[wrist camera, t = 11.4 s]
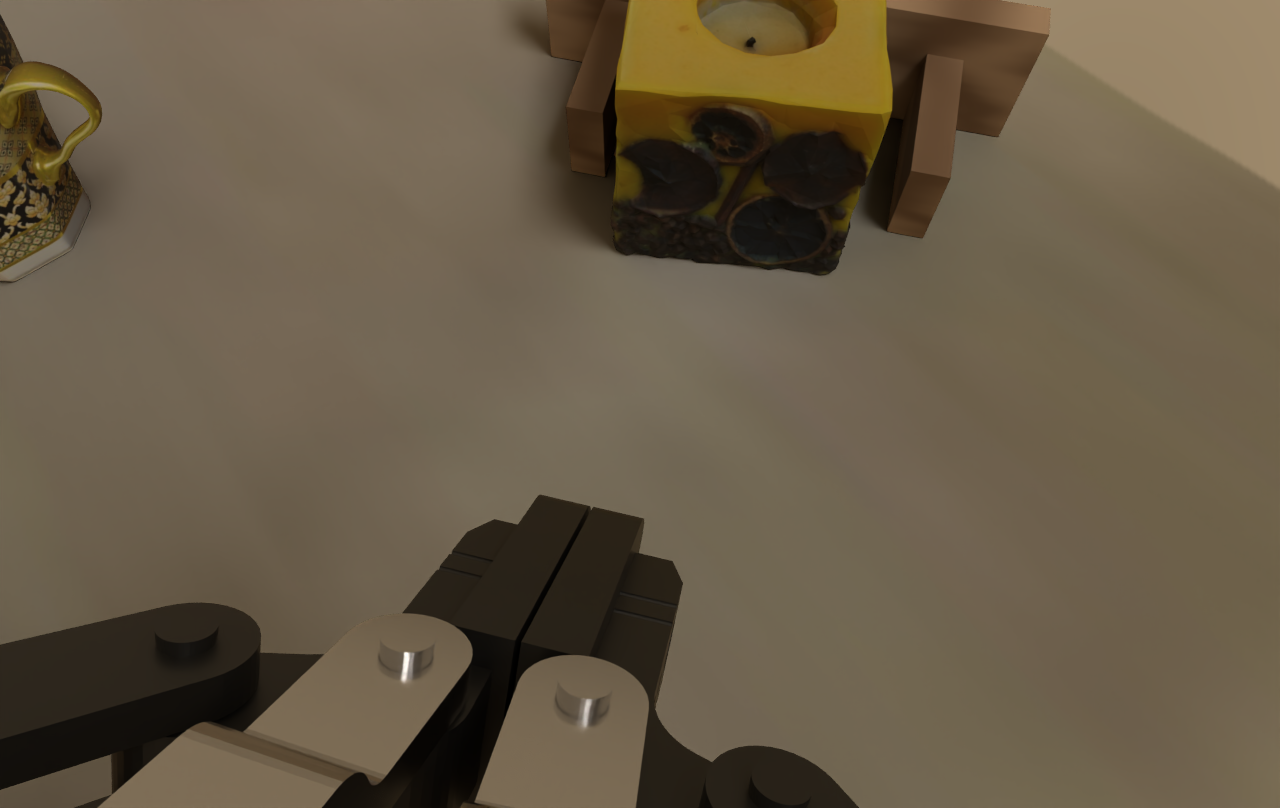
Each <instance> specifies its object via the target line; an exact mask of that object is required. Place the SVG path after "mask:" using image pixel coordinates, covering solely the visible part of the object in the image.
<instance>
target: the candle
mask: <svg viewBox="0 0 1280 808" xmlns="http://www.w3.org/2000/svg"><path fill="white" fill-rule="evenodd" d="M887 41H888V40H887V2H886V0H629V2H628V9H627V15H626V22H625V28H624V36H623V45H622V49H621V53H620V58H619V62H618V66H617V75H616V88H615V110H616V115H617V126H616V137H617V146H616V149H615V153H614V155H615V156H616V181H615V190H614V196H613V206H612V213H611V226H612V228H613V231H614V236H613V237H614V239H613V242H614V245H615V248H616V250H618V251H620V252H622V253H624V254H626V255H628V254H631V253H635V252H637V253H641V254H647V255H652V256H655V257H659V258H663V257H675V258H692V259H693V260H694V261H696V262H703V263H724V264H738V265H751V266H760V267H763V268H766V269H774V268H786V269H791V270H797V271H808V272H811V273H815V274H819V275H821V274H828V273H830V272H832V271H833V270H835V269H836V267H837V265H838V263H839V258H840V256H841V254H842V249H843V248H844V247H845V246H844V244H845V241H846V238H847V235H848V232H849V229H850V219H851V215H852V212H853V210H854V208H855V206H856V204H857V202H858V200H859V195H860V188H861V187H862V186H863V185H865V180H866V178H867V176H868V174H869V172H870V170H871V167H872V165H873V162H874V160H875V157H876V155H877V152H878V150H879V147H880V144H881V141H882V139H883V136H884V133H885V130H886V127H887V124H888V121H889V118H890V115H891V112H892V96H893V88H892V79H891V71H890V64H889V58H888V53H887Z"/></svg>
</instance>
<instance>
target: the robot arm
mask: <svg viewBox="0 0 1280 808" xmlns="http://www.w3.org/2000/svg"><path fill="white" fill-rule="evenodd" d="M643 527H644V519H643V518H639V517H635V516H630V515H626V514H622V513H617V512H613V511H609V510H604V509H600V508H596V507H593V508H592V510H591V508H590V506H587V505H582V504H578V503H574V502H569V501H565V500H561V499H556V498H552V497H548V496H544V495H539V496H538V497H537V498H536V500H535V501H534V502H533V504H532V505H531V507H530V508H529V510H528V511H527V513H526V514H525V515H524V517H523V518H522V520H521V521H520V523H519V524H518V525H516V524H512V523H508V522H504V521H500V520H495V519H494V520H492V521H490V522H488V523H486V524H483V525H481V526H479V527H477V528H475V529H473V530H470V531H468V532H467V533H466V534H465V535H464V537H463V538H462V539H461V540H460V542H459V543H458V544H457V545H456V547H455V548H454V549H453V550H452V554H449V555H448V557H447V558H446V559H445V560H444V562H443V563H442V564H441V565H440V569H439V570H436V572H435V573H434V574H433V575H432V577H431V578H430V579H429V580H428V582H427V583H426V584H425V585H424V587H423V588H422V589H421V590H420V592H419V593H418V594H417V595H416V597H415V598H414V599H413V600H412V602H411V603H410V604H409V605H408V607H407V608H406V609H405V610H404V612H403V613H402V614H390V615H383V616H379V617H375V618H372V619H369V620H367V621H364V622H362V623H360V624H358V625H357V626H355V627H354V628H352V629H351V630H350V631H349V632H347V633H346V634H345V635H344V636H343V637H342V638H341V639H340V640H339V641H338V642H337V643H336V644H335V645H334V646H333V647H332V648H331V649H330V650H329V651H328V652H326V653H325V654H313V655H307V654H279V653H260V645H261V633H260V628H259V627H258V625H257V623H256V622H255V621H254V620H253V619H252V618H251V617H250V616H248V615H247V614H245V613H244V612H242V611H239V610H237V609H235V608H232V607H228V606H224V605H219V604H212V603H184V604H176V605H170V606H165V607H161V608H156V609H152V610H148V611H144V612H139V613H135V614H131V615H126V616H122V617H118V618H113V619H109V620H105V621H101V622H96V623H92V624H88V625H83V626H79V627H75V628H70V629H66V630H62V631H58V632H53V633H49V634H45V635H40V636H36V637H32V638H27V639H23V640H19V641H15V642H10V643H6V644H2V645H0V790H1V789H4V788H7V787H10V786H14V785H17V784H20V783H23V782H26V781H29V780H32V779H35V778H38V777H42V776H45V775H48V774H51V773H54V772H57V771H60V770H63V769H66V768H70V767H73V766H76V765H79V764H82V763H85V762H88V761H91V760H94V759H98V758H101V757H104V756H107V755H110V754H111V762H112V795H110V796H107V797H104V798H101V799H98V800H95V801H92V802H89V803H87V804H84V805H81V806H78V807H75V808H859V807H858V806H857V805H856V804H855V803H854V802H853V801H852V800H851V798H850V797H849V796H848V795H847V794H846V793H845V792H844V791H843V790H842V789H841V788H840V787H839V785H838V784H837V783H836V782H835V781H834V780H833V779H832V778H831V777H830V776H829V775H828V774H827V773H826V772H824V771H823V770H822V769H820V768H819V767H818V766H816V765H815V764H813V763H811V762H810V761H808V760H806V759H805V758H802V757H800V756H798V755H796V754H794V753H791V752H788V751H785V750H782V749H777V748H773V747H766V746H744V747H738V748H735V749H732V750H729V751H727V752H725V753H723V754H721V755H720V756H719V757H717V758H716V759H715V760H714V761H713V762H710V761H708V760H707V759H705V758H703V757H701V756H699V755H697V754H695V753H694V752H692V751H690V750H689V749H687V748H686V747H684V746H683V745H682V744H680V743H679V742H678V741H676V740H675V739H674V738H673V737H672V736H671V735H670V734H669V733H668V732H667V730H666V729H665V728H664V726H663V725H662V723H661V722H660V720H659V718H658V716H657V713H656V710H655V707H656V703H657V699H658V695H659V691H660V687H661V683H662V679H663V674H664V670H665V665H666V660H667V656H668V651H669V646H670V641H671V637H672V632H673V627H674V623H675V618H676V613H677V609H678V604H679V599H680V594H681V590H682V585H683V582H682V580H681V578H680V576H679V574H678V572H677V570H676V568H675V565H674V563H673V561H669V560H665V559H661V558H657V557H652V556H648V555H644V554H640V553H639V549H640V544H641V539H642V534H643Z"/></svg>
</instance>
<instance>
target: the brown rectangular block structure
mask: <svg viewBox="0 0 1280 808" xmlns="http://www.w3.org/2000/svg"><path fill="white" fill-rule="evenodd" d="M628 2H629V0H546V6H547V16H548V26H549V36H550V46H551V56H553V57H558V58H564V59H569V60H575V61H580V62H582V64H581V67H580V70H579V73H578V75H577V78H576V81H575V83H574V86H573V89H572V92H571V94H570V97H569V100H568V102H567V105H566V113H567V124H568V136H569V147H570V159H571V170H572V171H577V172H582V173H587V174H593V175H598V176H603V177H605V176H606V172H607V169H608V166H609V163H610V160H611V157H612V154H613V151H614V148H615V145H616V142H617V137H616V126H617V115H616V110H615V88H616V75H617V66H618V62H619V58H620V53H621V49H622V45H623V36H624V28H625V22H626V15H627V9H628ZM886 2H887V40H888V41H887V53H888V58H889V64H890V71H891V79H892V88H893V96H892V112H891V115H890V117H891V118H896V119H902V120H903V125H902V132H901V139H900V145H899V152H898V159H897V166H896V173H895V180H894V186H893V193H892V200H891V207H890V214H889V220H888V227H887V231H888V232H893V233H899V234H904V235H909V236H914V237H919V238H923V237H924V235H925V232H926V230H927V228H928V226H929V224H930V221H931V219H932V217H933V215H934V213H935V211H936V208H937V206H938V204H939V202H940V200H941V198H942V195H943V193H944V191H945V189H946V187H947V185H948V182H949V180H950V178H951V169H952V160H953V151H954V142H955V133H956V129H957V130H963V131H968V132H974V133H979V134H985V135H990V136H996V137H998V136H999V134H1000V132H1001V130H1002V128H1003V126H1004V124H1005V122H1006V120H1007V118H1008V116H1009V114H1010V112H1011V110H1012V108H1013V106H1014V104H1015V102H1016V100H1017V98H1018V96H1019V94H1020V92H1021V90H1022V88H1023V86H1024V84H1025V82H1026V80H1027V78H1028V76H1029V74H1030V72H1031V70H1032V68H1033V66H1034V64H1035V62H1036V60H1037V58H1038V56H1039V54H1040V52H1041V50H1042V48H1043V46H1044V44H1045V42H1046V40H1047V38H1048V36H1049V28H1050V10H1051V9H1049V8H1044V7H1038V6H1031V5H1025V4H1019V3H1013V2H1007V1H1001V0H886Z"/></svg>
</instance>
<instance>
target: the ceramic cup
mask: <svg viewBox="0 0 1280 808" xmlns="http://www.w3.org/2000/svg"><path fill="white" fill-rule="evenodd" d="M36 90H50V91H55V92H59V93H62V94H64V95H67V96H69V97H71V98H73V99H75V100H77V101H78V102H79V103H81V104H82V105H83V106H84V107H85V108H86V110H87V111H88V113H89V116H90V117H89V119H88V120H87V121H86V122H84V123H83V124H82V125H80V126H79V127H78V128H77V129H75V130H74V131H73V132H72V133H71V134H70V135H69V136H68V137H67V138H66V140H65V142H64V144H63V146H62V147H61V145H60V143H59V141H58V139H57V137H56V135H55V133H54V131H53V129H52V127H51V125H50V123H49V121H48V119H47V117H46V115H45V113H44V111H43V109H42V106H41V103H40V101H39V98H38V95H37V92H36ZM101 118H102V108H101V105H100V102H99V101H98V99H97V97H96V96H95V95H94V94H93V93H92V92H91V91H90V90H89V89H88V88H87V87H86V86H85V85H84V84H83V83H82V82H81V81H79V80H78V79H77V78H75V77H74V76H73V75H71V74H70V73H68V72H66V71H64V70H62V69H60V68H58V67H55V66H53V65H49V64H45V63H41V62H24V63H23V60H22V58H21V56H20V54H19V52H18V49H17V47H16V45H15V43H14V40H13V38H12V36H11V34H10V32H9V30H8V28H7V27H6V25H5V23H4V21H3V19H2V17H1V15H0V281H17V280H19V279H21V278H23V277H24V276H26V275H28V274H30V273H32V272H33V271H35V270H37V269H39V268H41V267H42V266H44V265H46V264H48V263H49V262H51V261H53V260H55V259H57V258H58V257H60V256H62V255H64V254H65V253H67V252H69V251H70V250H72V249H73V247H74V245H75V243H76V240H77V238H78V236H79V233H80V231H81V229H82V226H83V224H84V222H85V220H86V217H87V215H88V213H89V210H90V201H89V198H88V196H87V195H86V193H85V191H84V189H83V188H82V186H81V184H80V181H79V180H78V178H77V176H76V174H75V172H74V171H73V169H72V167H71V165H70V163H69V161H68V159H69V158H70V157H71V155H72V153H73V151H74V149H75V147H76V146H77V145H78V144H79V143H80V142H81V141H83V140H84V139H85V138H87V137H88V136H89V135H91V134H92V133H93V132H94V131H95V130H96V129H97V128H98V126H99V124H100V122H101Z"/></svg>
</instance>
